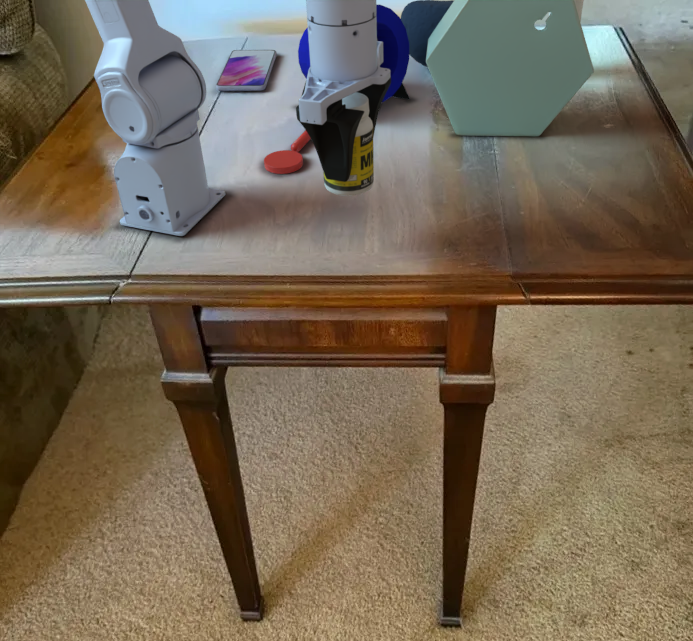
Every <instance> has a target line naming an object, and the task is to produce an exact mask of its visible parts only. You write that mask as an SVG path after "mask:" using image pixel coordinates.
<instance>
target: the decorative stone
mask: <svg viewBox="0 0 693 641" xmlns="http://www.w3.org/2000/svg"><path fill="white" fill-rule="evenodd" d="M453 2H454V0H412V1H411V2H408V3H407V4H406V5H405V6H404V8H403V9H402V11H401V15H400V19H401V21H402V23H403V25H404V26H405V28H406V31H407V36H408V40H409V57H411V58H412V59H413V60H414V61H415V62H416V63H418V64H420V65H421V66H424V67H426V68H428V66H427V64H426V55H427V46H428V39H429V37H430V36H431V34H432V33H433V31H434V30H435V28H436V27H437V25H438V24H439V22H440V21H441V19H442V18H443V16H444V15H445V13H446V12H447V11H448V9H449V8H450V6H451V5H452V3H453Z"/></svg>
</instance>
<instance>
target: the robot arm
mask: <svg viewBox="0 0 693 641" xmlns="http://www.w3.org/2000/svg"><path fill="white" fill-rule="evenodd" d="M84 1H85V4H86V6H87V8H88V10H89V13H90V15H91V17H92V20H93V22H94V24H95V27H96V29H97V31H98V33H99V36H100V37H101V40H102V42H103V48H102V51H101V53H100V55H99V56H100V57H99V59H98V62H97V64H96V67H95V70H94V74H93V77H94V79H95V82H96V84H97V87H98V89H99V93H100V97H101V108H102V112H103V115H104V118H105V120H106V122H107V124H108V125H109V127H110V128H111V130H112V131H113V132H114V133H115V134H116V135H117V136H118V137H120V138H121V139H122V142H123V143H126V145H125V148H124V151H123V153H122V154H121V156H120V157H119V158H118V159H117V161H116V162H115V165H114V168H113V176H114V180H115V185H116V188H117V189H116V190H117V192H118V193H117V194H118V196H119V200H120V204H121V208H122V213H123V215H124V216H122V217H121V218H120V220H119V224H120V225H121V226H123V227H130V228H136V229H140V230H145V231H151V232H156V233H161V234H166V235H172V236H178V237H183V236H186V235H187V234H188V232H189V231H190V230H192V228H194V227H195V226H196V224H198V222H200V220H202V219H203V218H204V217H205V216H206V215H207V214H209V212H210V211H211V210H212V209H213V208H214V207H215V206H216V205H217V204H218V203H219V202H220V201H221V200H222V199H223V198H224V197H225V196H226V191H225V189H220V188H213V187H209V184H208V177H207V172H206V167H205V161H204V155H203V150H202V144H201V138H200V132H199V127H198V122H199V121H200V120H201V118H200V112H199V109H200V108H201V107H202V106H203V105H204V103H205V100H206V97H207V84H206V80H205V78H204V75H203V73H202V71H201V69H200V68H199V66H198V64H196V63H195V62H194V60H192V58H191V57H190V56H189V54H188V52H187V50H186V48H185V45H184V43H183V41H182V38H180V37H179V36H177V35H176V34H174V33H172V32H170V31H169V30H166V28H163V27H161V26H160V25H159V23H158V21H157V19H156V17H155V13H154V11H153V8H152V5H151V2H150V1H149V0H84ZM305 5H306V6H305V8H306V23H307V24H306V25H307V27H308V38H309V52H310V68H309V70H308V75H307V79H306V80H307V81H306V80H305V83H306V86H305V85H304V86H305V91H304V94H303V95H302V94H301V96H302V97H301V96H300V98H299V99H298V105H297V106H295V113H296V114H295V115H296V119H297V121H298V122H299V123H300V125H301V126H302V127H303V129H304V131H305V130H306V131H307V133H308V135H309V136H310V138H311V139H310V140H311V143H312V144H313V146H314V148H315V151H316V154H317V157H318V159H319V162H320V166H321V168H322V171H323V175H324V174H325V177H326V179H330V180H336V181H342V182H347V180H348V179H349V177H350V173H351V168H352V157H353V146H354V140H355V135H356V131H357V128H358V125H359V122H360V120H361V118H362V116H363V114H364V111H361V110H353V109H346V105H345V104H344V105H342V99H343V98H345V97H347V96H349V95H351V94H353V93H355V92H358V93H362V94H364V95H366V96H367V97H368V101H369V116H368V117H369V118H370V119H371V120H372V123H373V138H374V136H375V131H376V126H377V122H378V116H379V113H380V110H381V107H382V105H383V103H382V101H383V99H384V97H385V94H386V92H387V90H388V88H389V86H390V84H391V76H390V69H387V68H381V67H380V65H381V64H382V63H383V42H381V41H377V19H376V13H377V12H376V5H377V0H305Z"/></svg>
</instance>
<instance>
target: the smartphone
mask: <svg viewBox="0 0 693 641" xmlns="http://www.w3.org/2000/svg"><path fill="white" fill-rule="evenodd" d="M277 55H278V54H277V50H275V49H234V50H231V51H230V53H229V56H228V59H227V61H226V63H225V65H224V67H223V69H222V71H221V73H220V75H219V78H218V79H217V82H216V84H215V89H216V90H217V91H218V92H233V91H237V92H238V91H242V92H243V91H245V92H246V91H248V92H249V91H251V92H252V91H264V90H265V89H266V88H267V85H268V82H269V79H270V76H271V73H272V70H273V66H274V63H275V61H276V58H277Z"/></svg>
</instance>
